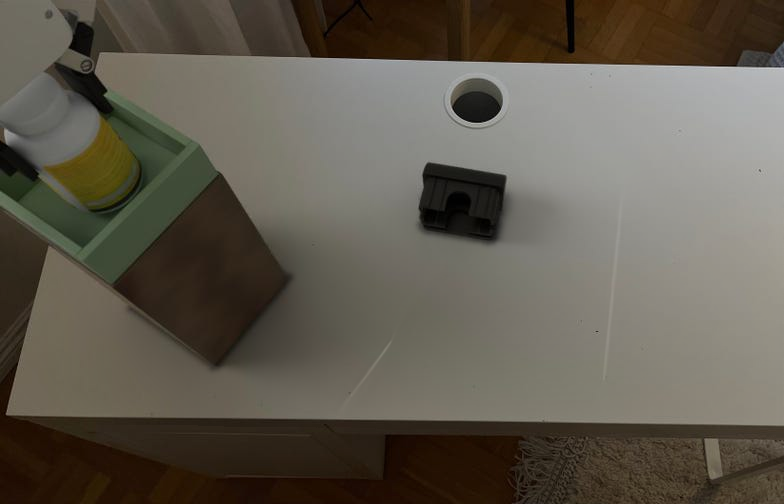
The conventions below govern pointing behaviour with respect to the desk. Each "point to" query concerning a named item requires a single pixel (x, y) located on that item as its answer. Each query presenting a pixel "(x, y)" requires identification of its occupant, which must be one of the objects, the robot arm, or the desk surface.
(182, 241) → the stand
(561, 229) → the desk surface
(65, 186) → the pill bottle
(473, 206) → the end cap
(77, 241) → the green storage bin
